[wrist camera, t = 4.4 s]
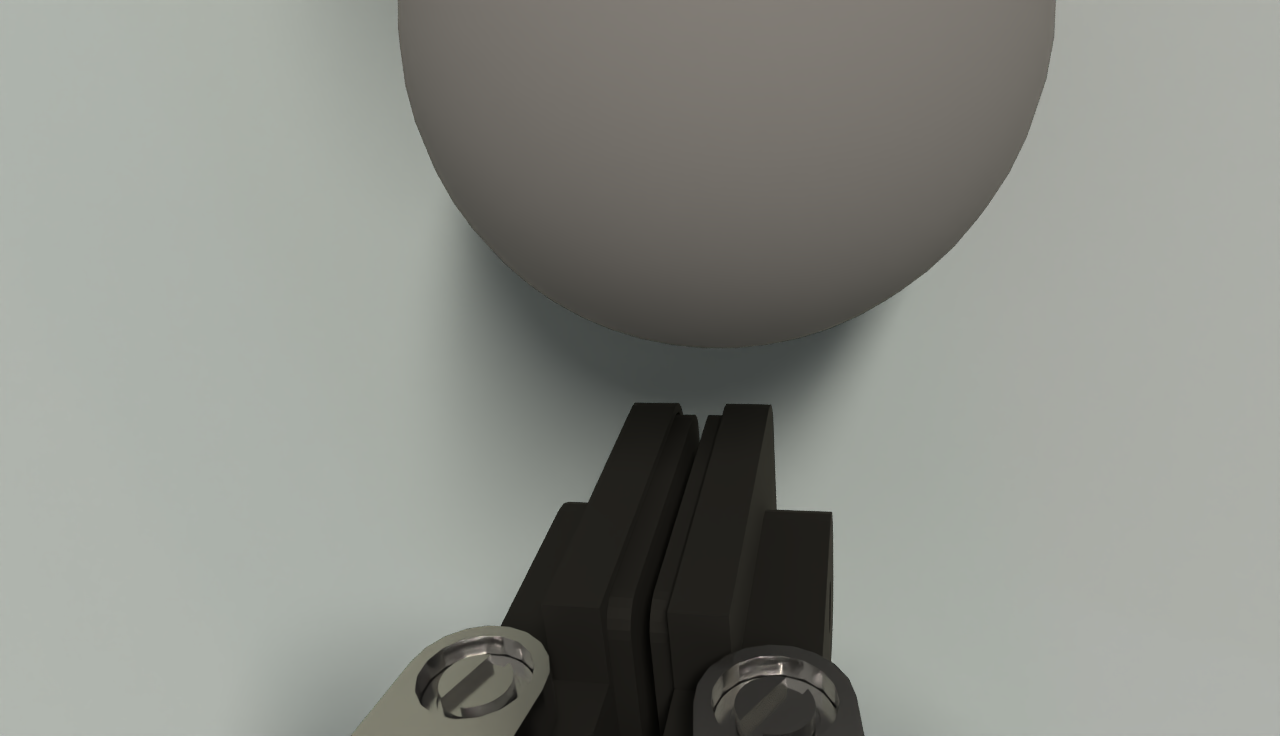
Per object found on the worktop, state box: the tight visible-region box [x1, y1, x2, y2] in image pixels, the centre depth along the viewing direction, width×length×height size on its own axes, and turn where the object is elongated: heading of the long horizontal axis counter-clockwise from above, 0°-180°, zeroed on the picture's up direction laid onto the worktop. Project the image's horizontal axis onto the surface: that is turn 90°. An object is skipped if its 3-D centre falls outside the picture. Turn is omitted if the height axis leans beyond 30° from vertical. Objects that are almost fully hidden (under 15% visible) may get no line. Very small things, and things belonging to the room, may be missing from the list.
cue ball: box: [398, 0, 1056, 348], centre depth 9 cm, size 6×6×6 cm
